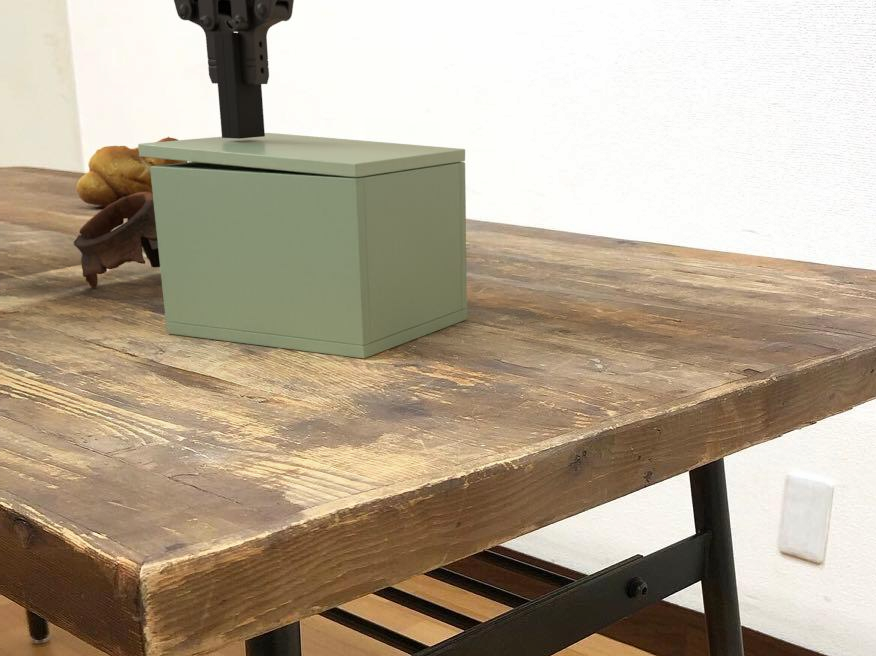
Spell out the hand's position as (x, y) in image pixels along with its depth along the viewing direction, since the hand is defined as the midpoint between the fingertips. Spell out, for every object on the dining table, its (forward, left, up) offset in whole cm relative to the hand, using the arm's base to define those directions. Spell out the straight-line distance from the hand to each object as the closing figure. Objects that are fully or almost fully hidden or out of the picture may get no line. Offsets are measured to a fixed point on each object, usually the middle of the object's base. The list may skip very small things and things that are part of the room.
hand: (243, 136), depth 83 cm
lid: (+5, 0, -1) cm, 5 cm away
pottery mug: (-16, +7, -13) cm, 21 cm away
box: (+5, 0, -12) cm, 13 cm away
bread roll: (-55, +48, -13) cm, 74 cm away
